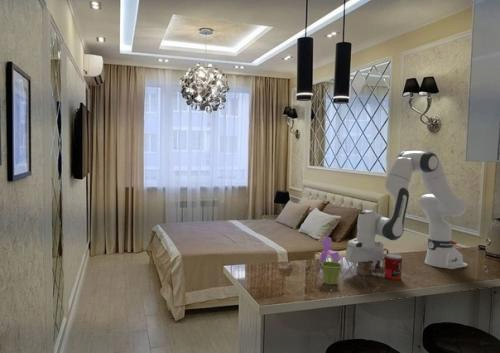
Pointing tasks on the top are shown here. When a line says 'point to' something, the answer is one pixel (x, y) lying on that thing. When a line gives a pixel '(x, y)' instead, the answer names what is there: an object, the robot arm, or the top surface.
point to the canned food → (393, 266)
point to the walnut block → (364, 268)
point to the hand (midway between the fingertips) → (364, 269)
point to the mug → (379, 260)
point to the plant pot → (331, 272)
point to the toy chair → (328, 251)
